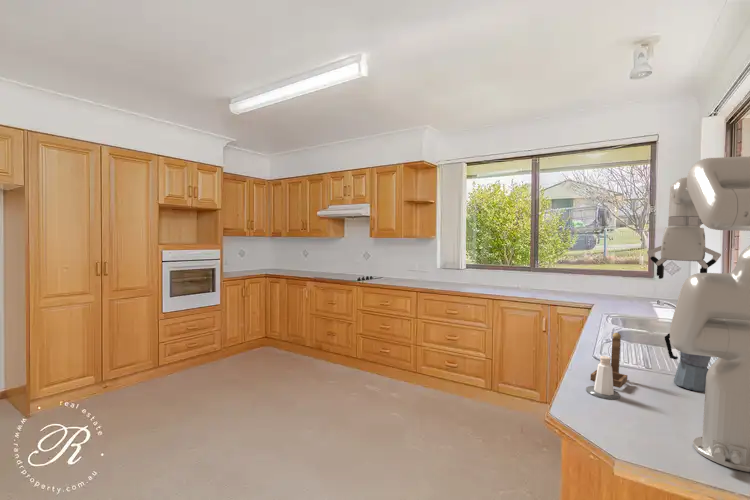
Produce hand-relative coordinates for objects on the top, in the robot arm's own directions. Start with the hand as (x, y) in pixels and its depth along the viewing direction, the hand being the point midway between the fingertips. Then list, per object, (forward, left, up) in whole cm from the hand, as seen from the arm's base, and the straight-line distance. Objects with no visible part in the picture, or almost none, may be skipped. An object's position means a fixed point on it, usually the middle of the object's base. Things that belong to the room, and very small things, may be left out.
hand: (680, 280), depth 115 cm
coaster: (-13, +16, -36) cm, 42 cm away
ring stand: (+1, +17, -36) cm, 40 cm away
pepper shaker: (-13, +16, -36) cm, 41 cm away
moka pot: (+16, -2, -36) cm, 40 cm away
